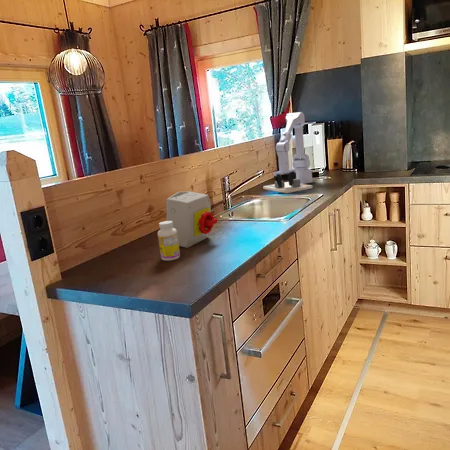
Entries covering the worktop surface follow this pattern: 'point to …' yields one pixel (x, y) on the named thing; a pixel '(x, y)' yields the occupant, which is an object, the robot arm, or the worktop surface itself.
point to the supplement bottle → (168, 241)
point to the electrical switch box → (190, 217)
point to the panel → (287, 188)
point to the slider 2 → (296, 182)
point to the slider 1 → (277, 184)
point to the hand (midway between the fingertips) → (285, 186)
